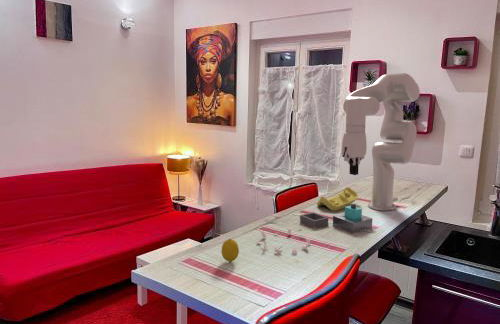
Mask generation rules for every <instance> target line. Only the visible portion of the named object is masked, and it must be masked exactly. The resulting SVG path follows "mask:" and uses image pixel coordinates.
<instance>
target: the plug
mask: <svg viewBox="0 0 500 324" xmlns="http://www.w3.org/2000/svg"><path fill="white" fill-rule="evenodd" d="M344 213H345V215H344V217H346V218H349V219H351V220H354V221H355V220H359V219H361V218H362V215H363V208H361V207H357V203H351V204H350V205H349V206H347V207H345V208H344Z"/></svg>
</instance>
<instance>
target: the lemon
mask: <svg viewBox="0 0 500 324" xmlns="http://www.w3.org/2000/svg"><path fill="white" fill-rule="evenodd" d="M239 250H240V248H239V244H238V243H237V241H236V240H235V239H232V238H228V239H226V240H224V242H223V243H222V246H221V256H222V258H223V259H224V260H225V261H227V262H229V263H232V262H233V261H235V260H237V258H238V257H239V252H240V251H239Z"/></svg>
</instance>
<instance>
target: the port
mask: <svg viewBox="0 0 500 324" xmlns="http://www.w3.org/2000/svg"><path fill="white" fill-rule="evenodd" d="M344 215H345V212H344V213H340V214H336V215H335V214H334V215H333V216H332V226H333V227H336V228H339V229H341V230H344V231H346V232H349V233H351V234H354V233H359V232H362V230H363V231H365V229H366V230H369V228H370V229H372V228H373V217H369V216H366V215H363V214H362V218H361V219H359V220H355V221H354V220H351V219H349V218H346V217H344Z"/></svg>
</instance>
